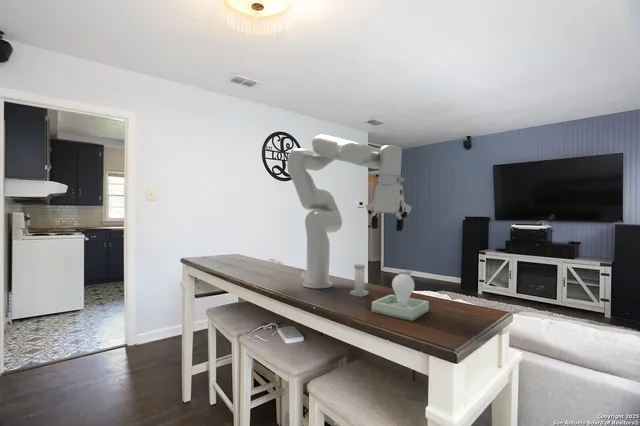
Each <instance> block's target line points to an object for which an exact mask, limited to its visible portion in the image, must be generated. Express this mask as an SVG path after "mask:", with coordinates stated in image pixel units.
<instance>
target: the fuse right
mask: <svg viewBox="0 0 640 426" xmlns="http://www.w3.org/2000/svg"><path fill="white" fill-rule="evenodd" d="M398 274H406V275H409V276H410V277H411V274H412V270H408V269H407V270H406V269H400V270H398ZM409 298H411V295H410V296H409Z"/></svg>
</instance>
